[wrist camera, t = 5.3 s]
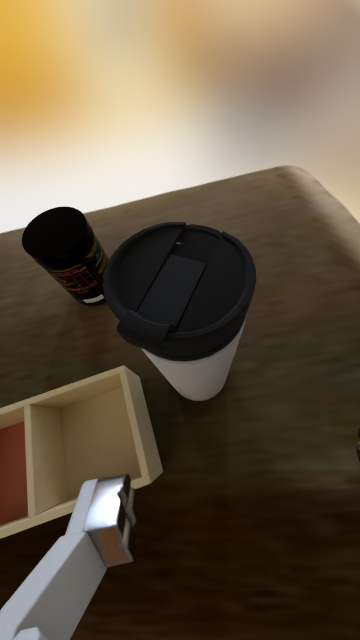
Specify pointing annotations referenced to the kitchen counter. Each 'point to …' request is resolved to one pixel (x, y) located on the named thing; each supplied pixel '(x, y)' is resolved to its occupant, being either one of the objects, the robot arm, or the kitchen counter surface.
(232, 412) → the kitchen counter surface
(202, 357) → the travel mug
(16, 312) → the kitchen counter surface
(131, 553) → the robot arm
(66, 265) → the supplement container
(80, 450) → the organiser
